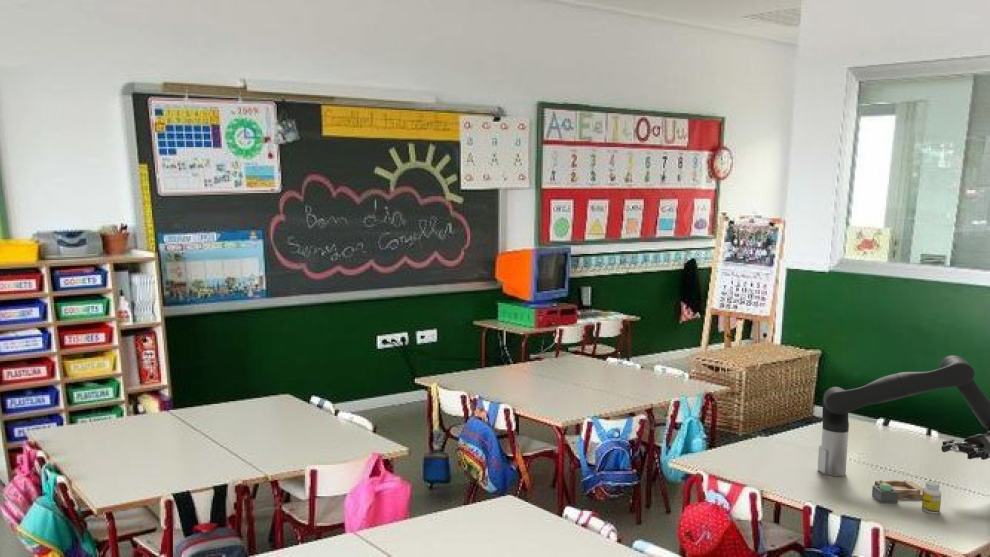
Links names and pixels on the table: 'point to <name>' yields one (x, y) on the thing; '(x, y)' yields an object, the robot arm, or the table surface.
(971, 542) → the table surface
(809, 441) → the table surface
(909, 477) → the table surface
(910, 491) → the pallet board
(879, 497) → the button box
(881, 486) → the button
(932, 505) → the supplement bottle
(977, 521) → the table surface
